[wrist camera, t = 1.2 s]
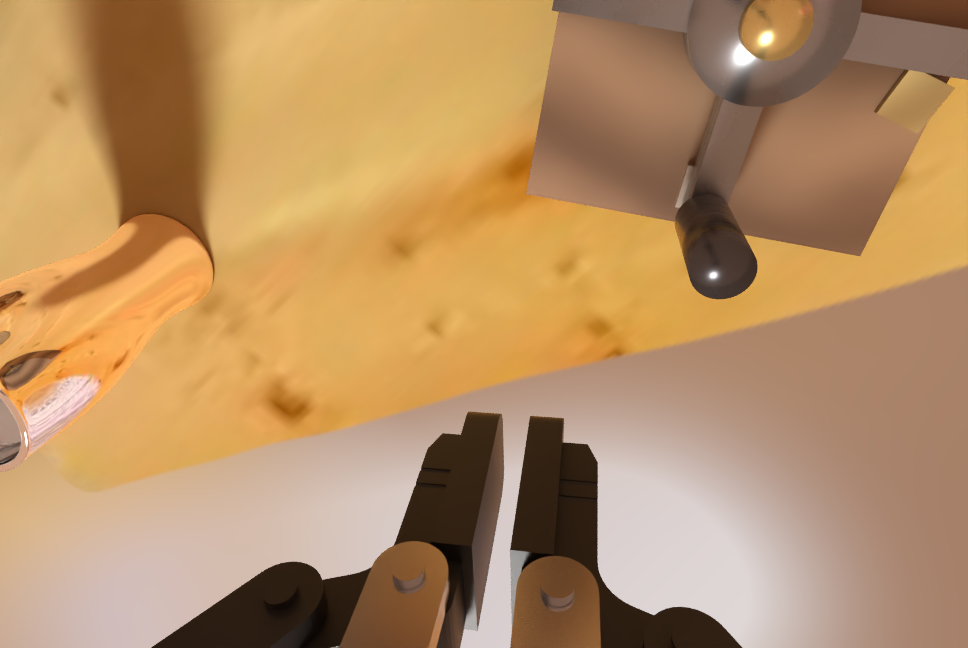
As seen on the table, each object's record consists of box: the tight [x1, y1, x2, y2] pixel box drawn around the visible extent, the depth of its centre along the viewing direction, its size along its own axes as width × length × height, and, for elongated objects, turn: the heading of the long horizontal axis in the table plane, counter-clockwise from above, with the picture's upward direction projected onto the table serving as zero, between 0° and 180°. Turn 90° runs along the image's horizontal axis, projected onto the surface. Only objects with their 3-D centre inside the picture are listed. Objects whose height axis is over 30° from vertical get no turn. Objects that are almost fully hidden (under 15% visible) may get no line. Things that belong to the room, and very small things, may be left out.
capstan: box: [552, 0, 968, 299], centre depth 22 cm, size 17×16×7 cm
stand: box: [526, 0, 968, 256], centre depth 26 cm, size 18×16×2 cm
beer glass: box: [0, 214, 213, 472], centre depth 32 cm, size 7×7×15 cm
